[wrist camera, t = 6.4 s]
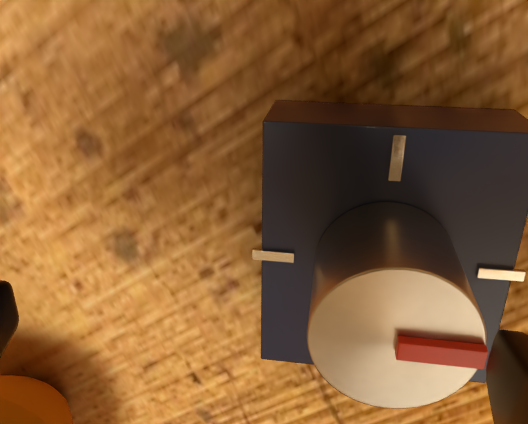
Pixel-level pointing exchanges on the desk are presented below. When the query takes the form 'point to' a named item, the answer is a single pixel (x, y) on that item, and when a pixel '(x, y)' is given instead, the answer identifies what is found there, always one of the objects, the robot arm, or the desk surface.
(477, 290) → the dial panel
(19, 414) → the apple
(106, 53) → the desk surface
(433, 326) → the dial
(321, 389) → the desk surface
